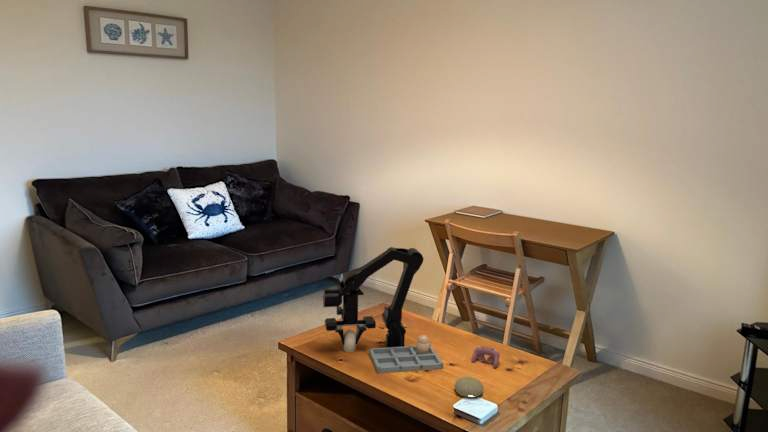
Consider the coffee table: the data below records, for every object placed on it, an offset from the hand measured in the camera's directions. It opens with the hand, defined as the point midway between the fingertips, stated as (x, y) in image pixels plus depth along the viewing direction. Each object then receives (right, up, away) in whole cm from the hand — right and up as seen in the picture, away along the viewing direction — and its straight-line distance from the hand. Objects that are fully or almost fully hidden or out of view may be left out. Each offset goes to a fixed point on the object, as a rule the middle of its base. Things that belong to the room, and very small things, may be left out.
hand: (349, 344), depth 225 cm
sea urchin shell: (+41, -10, -29) cm, 51 cm away
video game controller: (+50, -6, -7) cm, 51 cm away
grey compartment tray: (+21, -5, -8) cm, 23 cm away
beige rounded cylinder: (+27, -3, -3) cm, 28 cm away
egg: (0, -2, 0) cm, 2 cm away
